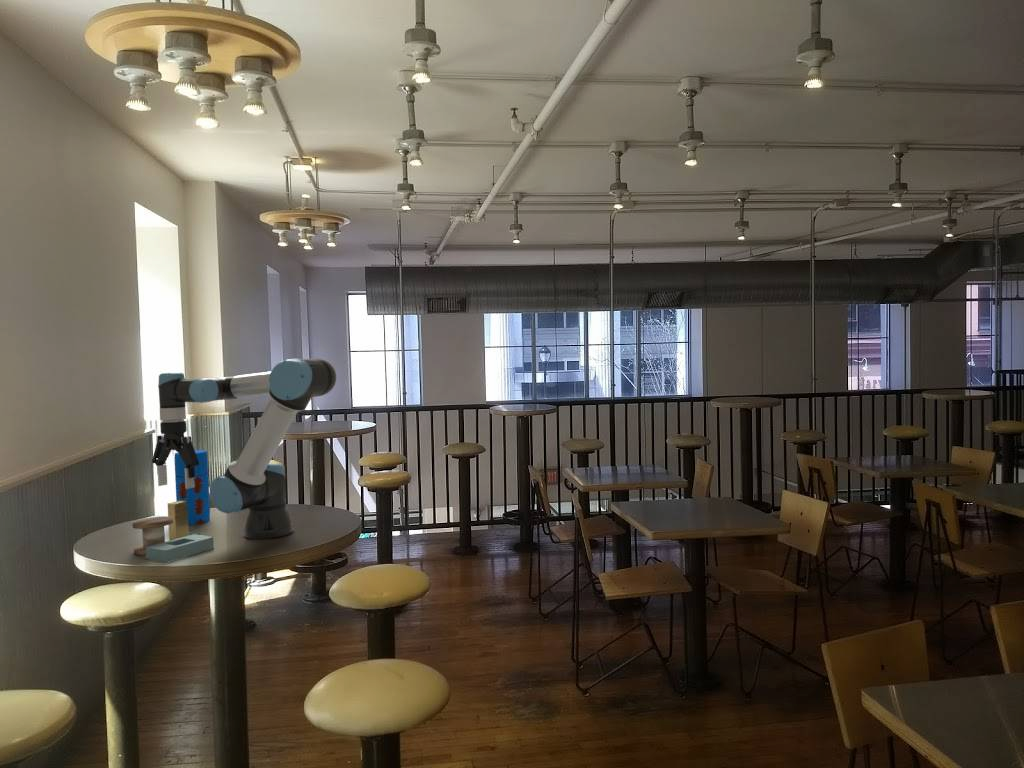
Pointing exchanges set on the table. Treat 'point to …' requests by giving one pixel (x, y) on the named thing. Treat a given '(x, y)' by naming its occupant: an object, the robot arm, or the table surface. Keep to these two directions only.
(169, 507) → the tab
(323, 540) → the table surface
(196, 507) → the thermos
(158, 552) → the notch board
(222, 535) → the table surface
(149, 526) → the spool
